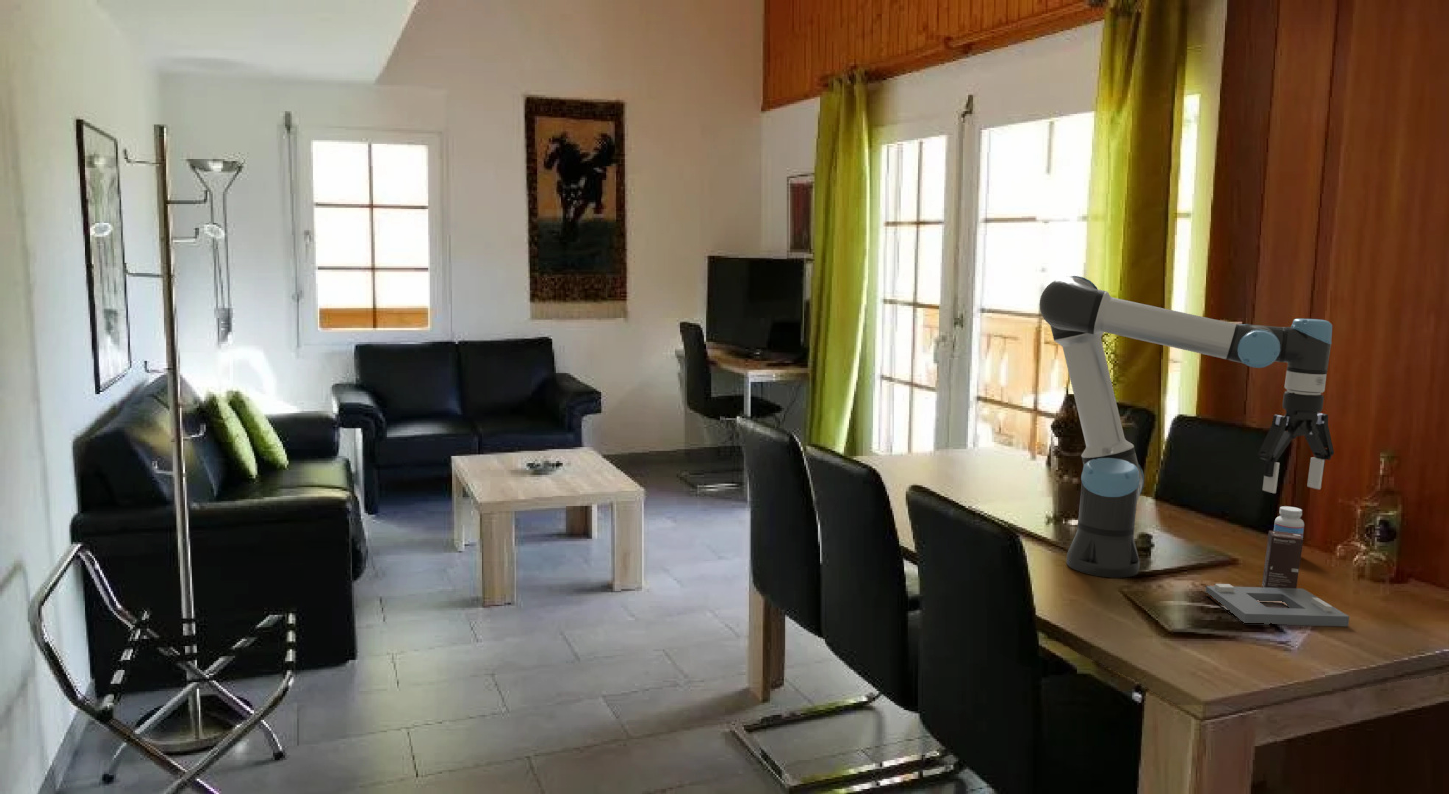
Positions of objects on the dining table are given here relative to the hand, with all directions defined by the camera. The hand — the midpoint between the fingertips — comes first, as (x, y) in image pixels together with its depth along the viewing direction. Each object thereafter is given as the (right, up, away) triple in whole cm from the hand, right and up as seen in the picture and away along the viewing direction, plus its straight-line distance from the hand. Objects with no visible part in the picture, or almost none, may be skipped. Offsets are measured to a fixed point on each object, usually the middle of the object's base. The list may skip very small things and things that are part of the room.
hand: (1291, 489), depth 228 cm
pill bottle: (+9, -17, +20) cm, 28 cm away
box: (-5, -21, -5) cm, 22 cm away
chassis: (-13, -22, -18) cm, 32 cm away
